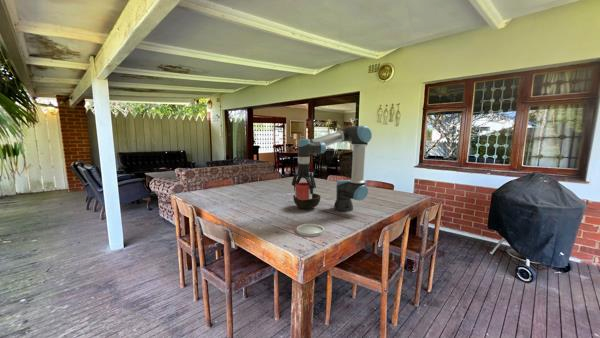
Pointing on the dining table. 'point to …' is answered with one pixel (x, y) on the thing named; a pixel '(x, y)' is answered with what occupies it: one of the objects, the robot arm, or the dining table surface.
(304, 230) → the saucer
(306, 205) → the bowl
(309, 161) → the robot arm
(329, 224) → the dining table surface
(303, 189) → the flower pot
